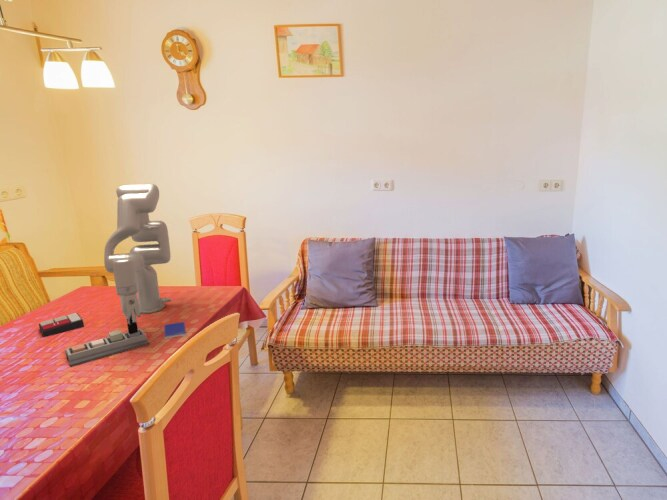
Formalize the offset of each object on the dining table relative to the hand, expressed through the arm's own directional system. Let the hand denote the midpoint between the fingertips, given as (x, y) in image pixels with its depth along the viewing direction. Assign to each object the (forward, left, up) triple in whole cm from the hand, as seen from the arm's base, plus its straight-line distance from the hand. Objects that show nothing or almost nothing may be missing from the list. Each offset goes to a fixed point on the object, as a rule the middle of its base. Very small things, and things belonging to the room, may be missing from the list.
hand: (133, 332), depth 172 cm
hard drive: (-16, +1, -5) cm, 17 cm away
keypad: (+10, 0, -4) cm, 10 cm away
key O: (+13, 0, -2) cm, 13 cm away
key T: (0, 0, -2) cm, 3 cm away
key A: (+6, 0, -1) cm, 6 cm away
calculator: (+21, -35, -4) cm, 41 cm away
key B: (+19, 0, -2) cm, 20 cm away
